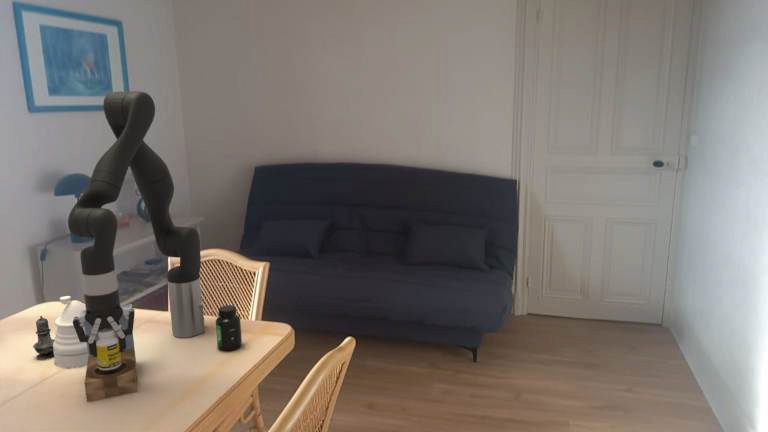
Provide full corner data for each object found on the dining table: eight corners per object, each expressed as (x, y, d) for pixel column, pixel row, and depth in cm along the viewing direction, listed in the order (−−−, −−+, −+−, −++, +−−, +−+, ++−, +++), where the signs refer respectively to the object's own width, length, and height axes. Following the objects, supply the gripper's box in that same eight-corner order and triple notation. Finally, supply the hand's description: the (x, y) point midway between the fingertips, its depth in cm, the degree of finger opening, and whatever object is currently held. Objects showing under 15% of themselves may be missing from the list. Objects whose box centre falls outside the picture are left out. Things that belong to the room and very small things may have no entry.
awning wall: (138, 361, 155) (131, 303, 151) (138, 370, 150) (131, 310, 146) (89, 370, 150) (81, 310, 146) (87, 379, 145) (79, 317, 142)
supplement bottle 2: (218, 353, 159) (215, 314, 156) (217, 343, 165) (214, 305, 163) (243, 350, 161) (240, 310, 159) (240, 340, 168) (238, 302, 165)
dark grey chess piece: (47, 361, 155) (41, 320, 153) (29, 359, 156) (23, 319, 154) (63, 351, 161) (58, 312, 158) (45, 350, 162) (40, 310, 159)
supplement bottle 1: (110, 372, 137) (105, 335, 135) (93, 369, 139) (88, 332, 137) (127, 362, 142) (122, 326, 140) (110, 359, 144) (105, 323, 142)
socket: (136, 365, 153) (134, 348, 151) (136, 391, 139) (134, 373, 138) (90, 373, 148) (88, 356, 147) (86, 401, 135) (84, 382, 134)
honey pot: (54, 372, 149) (44, 308, 145) (56, 352, 160) (47, 293, 157) (107, 361, 155) (100, 299, 151) (106, 343, 166) (98, 285, 162)
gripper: (65, 298, 130) (75, 365, 134) (133, 289, 136) (140, 354, 139) (68, 288, 137) (77, 352, 141) (133, 280, 142) (140, 341, 146)
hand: (108, 352), depth 140 cm, fingers closed on supplement bottle 1, 5 cm apart
